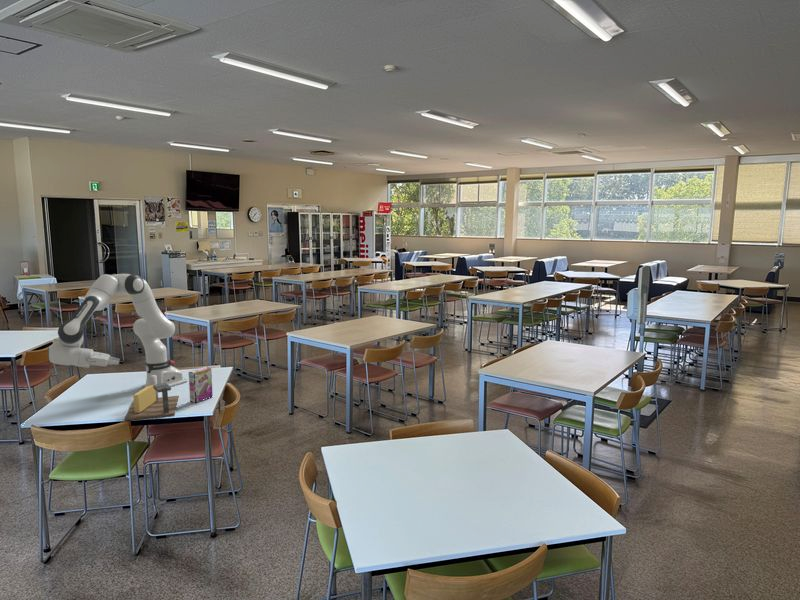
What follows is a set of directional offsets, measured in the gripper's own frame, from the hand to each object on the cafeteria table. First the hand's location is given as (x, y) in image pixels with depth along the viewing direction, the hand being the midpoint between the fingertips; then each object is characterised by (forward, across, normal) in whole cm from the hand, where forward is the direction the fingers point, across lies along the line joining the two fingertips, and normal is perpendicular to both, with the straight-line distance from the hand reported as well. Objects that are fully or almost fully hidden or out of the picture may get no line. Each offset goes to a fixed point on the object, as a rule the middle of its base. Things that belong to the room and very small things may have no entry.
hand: (119, 361), depth 261 cm
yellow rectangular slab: (+16, +5, +21) cm, 27 cm away
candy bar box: (+42, +6, +16) cm, 45 cm away
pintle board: (+19, +3, +22) cm, 29 cm away
